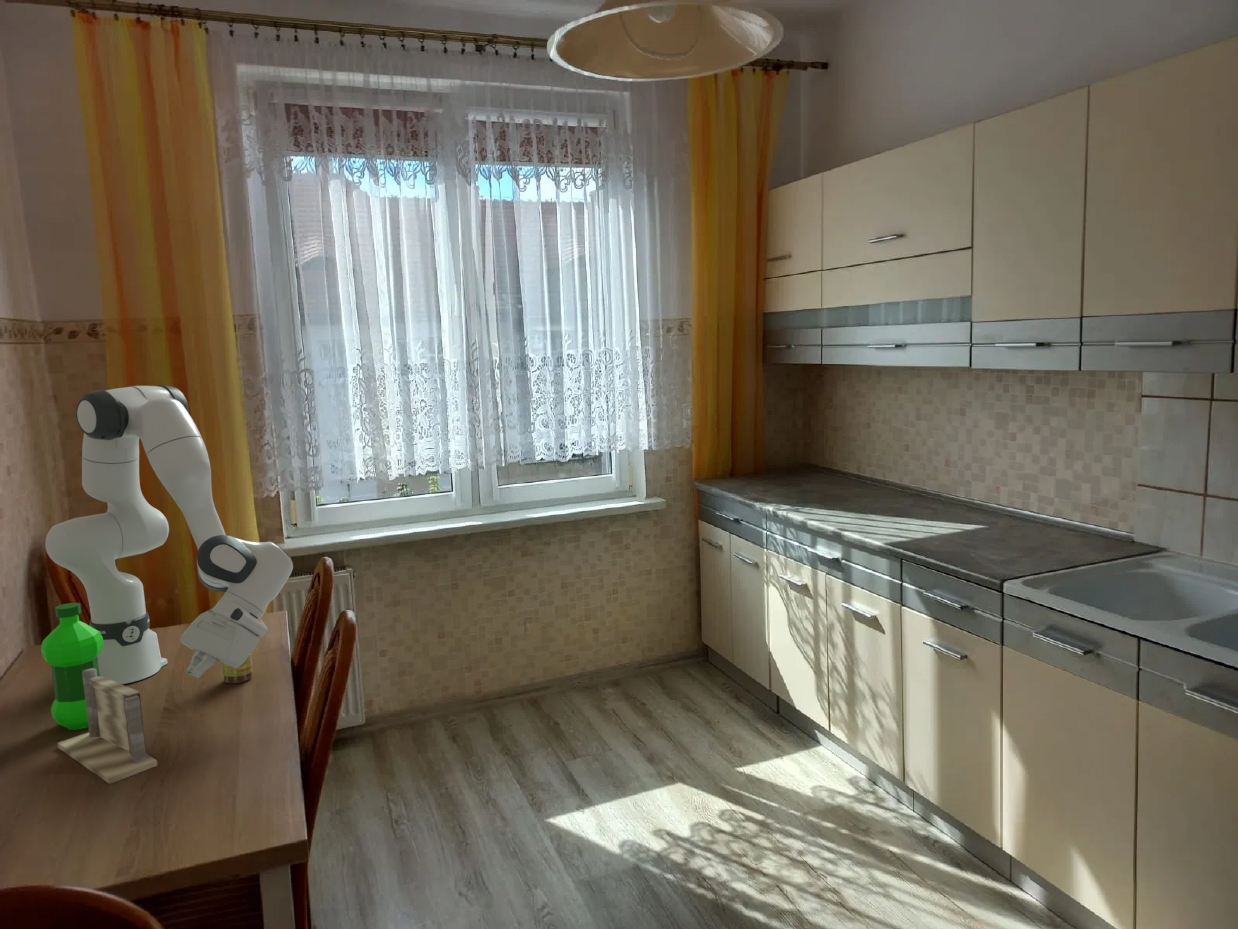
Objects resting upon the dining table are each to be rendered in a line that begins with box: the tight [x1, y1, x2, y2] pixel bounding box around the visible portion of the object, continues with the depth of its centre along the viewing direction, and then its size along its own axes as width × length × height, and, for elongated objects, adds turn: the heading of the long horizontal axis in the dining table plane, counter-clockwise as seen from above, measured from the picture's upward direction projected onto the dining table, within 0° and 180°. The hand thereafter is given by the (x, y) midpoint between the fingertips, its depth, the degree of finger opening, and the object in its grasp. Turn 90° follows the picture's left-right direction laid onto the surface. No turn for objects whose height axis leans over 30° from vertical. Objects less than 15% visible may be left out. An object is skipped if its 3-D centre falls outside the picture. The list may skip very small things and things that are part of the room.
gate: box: [89, 676, 147, 754], centre depth 158 cm, size 16×2×12 cm, turn 55°
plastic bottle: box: [40, 602, 103, 731], centre depth 170 cm, size 10×10×25 cm
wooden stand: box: [57, 668, 158, 785], centre depth 156 cm, size 24×8×14 cm, turn 52°
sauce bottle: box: [221, 653, 254, 684], centre depth 192 cm, size 7×6×20 cm
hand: (191, 675), depth 167 cm, fingers closed
